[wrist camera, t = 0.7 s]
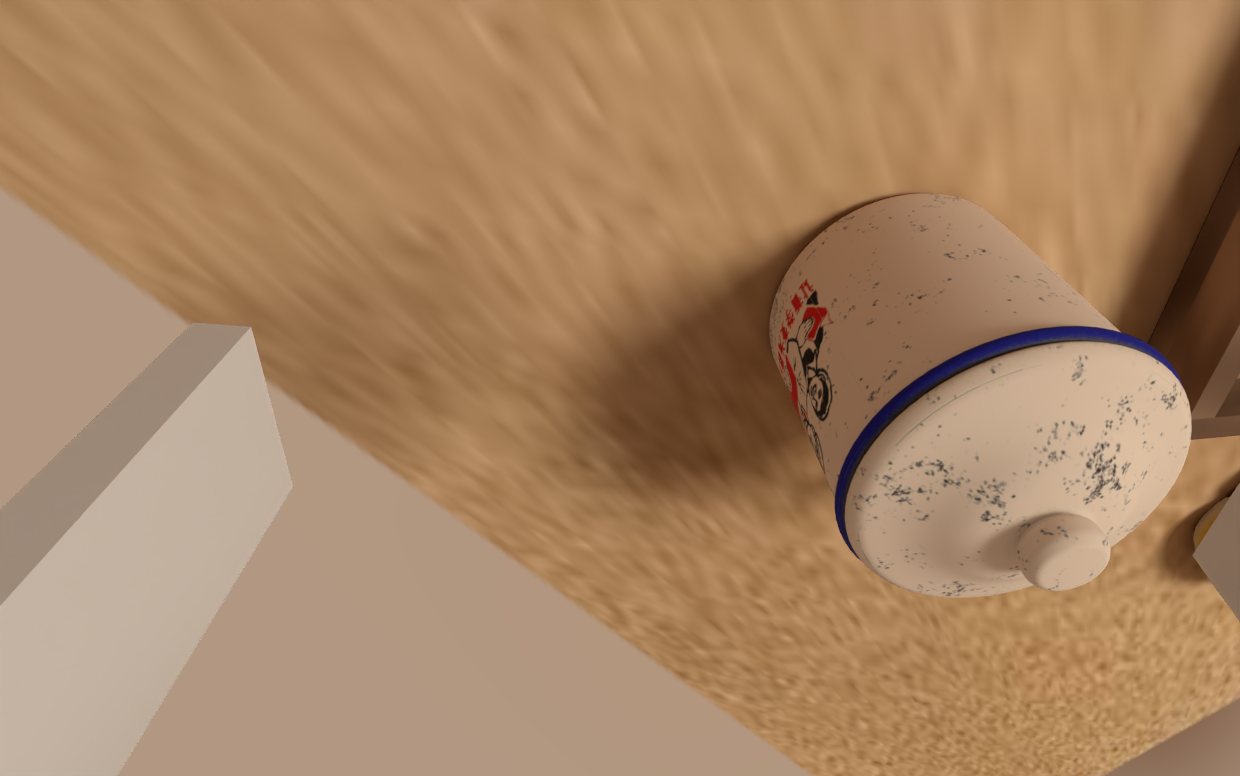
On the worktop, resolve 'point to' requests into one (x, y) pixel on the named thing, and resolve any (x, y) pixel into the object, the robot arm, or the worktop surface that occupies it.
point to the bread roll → (1207, 522)
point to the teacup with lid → (970, 402)
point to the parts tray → (1209, 319)
